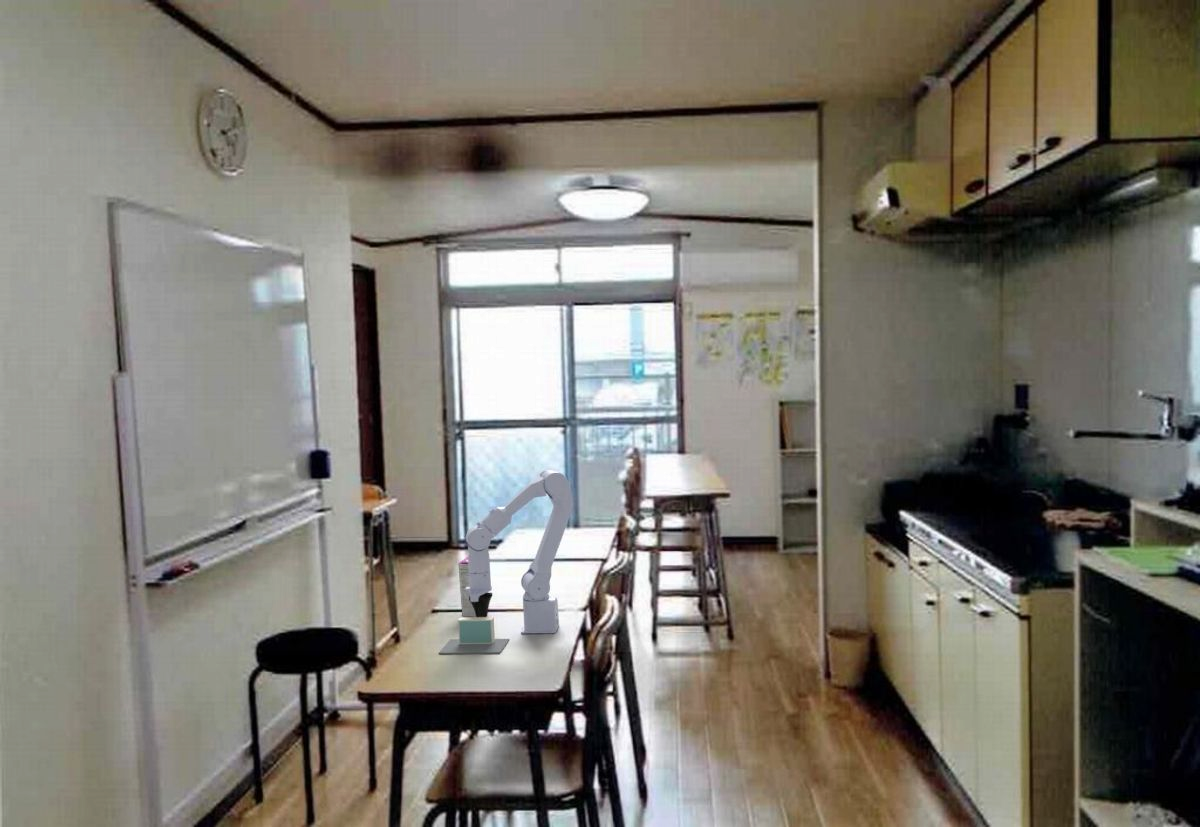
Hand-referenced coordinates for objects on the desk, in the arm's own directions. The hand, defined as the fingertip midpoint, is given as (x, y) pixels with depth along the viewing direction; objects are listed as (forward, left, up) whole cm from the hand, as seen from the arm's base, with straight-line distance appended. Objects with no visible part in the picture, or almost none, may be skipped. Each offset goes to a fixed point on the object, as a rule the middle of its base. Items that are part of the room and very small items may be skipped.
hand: (482, 621), depth 238 cm
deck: (0, +6, -4) cm, 7 cm away
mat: (0, +9, -4) cm, 10 cm away
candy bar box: (+8, -24, -4) cm, 25 cm away
